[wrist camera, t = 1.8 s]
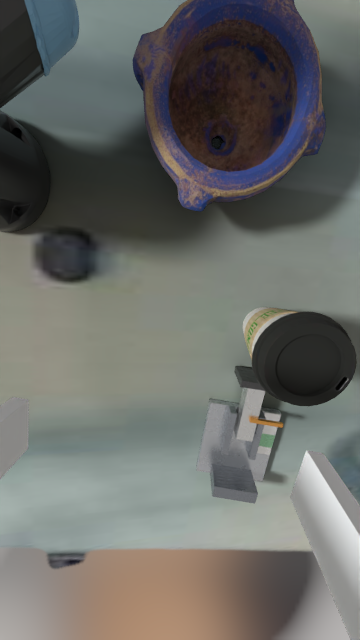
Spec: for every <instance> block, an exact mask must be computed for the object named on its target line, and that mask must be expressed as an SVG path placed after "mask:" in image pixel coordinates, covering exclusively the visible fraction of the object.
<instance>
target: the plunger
mask: <svg viewBox="0 0 360 640" xmlns="http://www.w3.org/2000/svg"><path fill="white" fill-rule="evenodd" d="M234 372H235V374H236V377H237V379H238V382H239V384H240V387H243V390H242V394H241V399H240V403H239V407H238V412H237V417H236V422H235V426H234V433H235V437H236V439H239V440H245V441H251V442H252V441H253V437H254V433H255V429H256V425H257V424H262V425H268V426H274V427H281V428H282V427H283V423H282V422H277V421H271V420H265V419H259V414H260V410H261V406H262V402H263V398H264V395H265V391H266V390H265V389H264V388H263V387H262V386H261V385H260V384H259V382H258V381H257V379H256V377H255V375H254V372H253V369H252V368H246V367H240V366H236V367H235V371H234Z"/></svg>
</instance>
